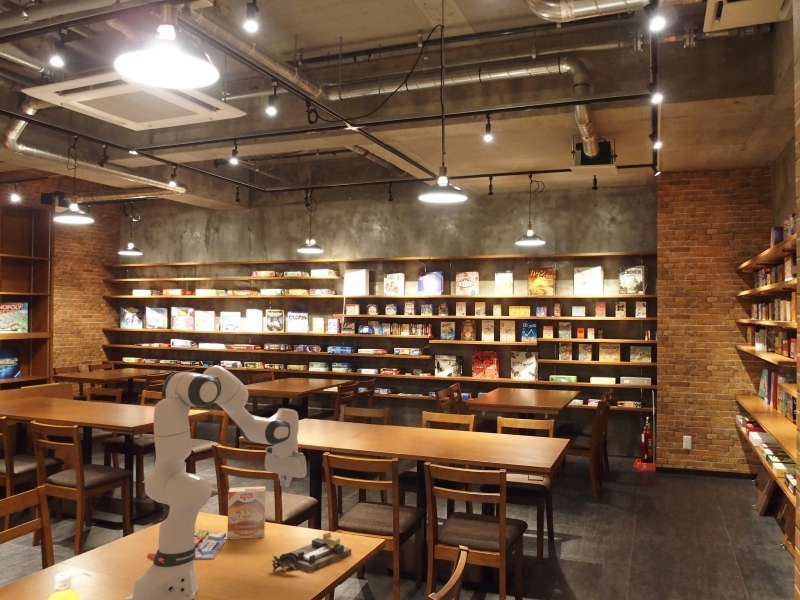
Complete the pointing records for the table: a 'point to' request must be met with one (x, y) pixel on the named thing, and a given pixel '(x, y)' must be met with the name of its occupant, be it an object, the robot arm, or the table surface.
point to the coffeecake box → (246, 512)
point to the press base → (321, 561)
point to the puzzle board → (207, 544)
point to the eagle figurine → (285, 561)
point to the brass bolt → (330, 539)
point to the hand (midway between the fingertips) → (284, 486)
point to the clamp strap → (319, 552)
